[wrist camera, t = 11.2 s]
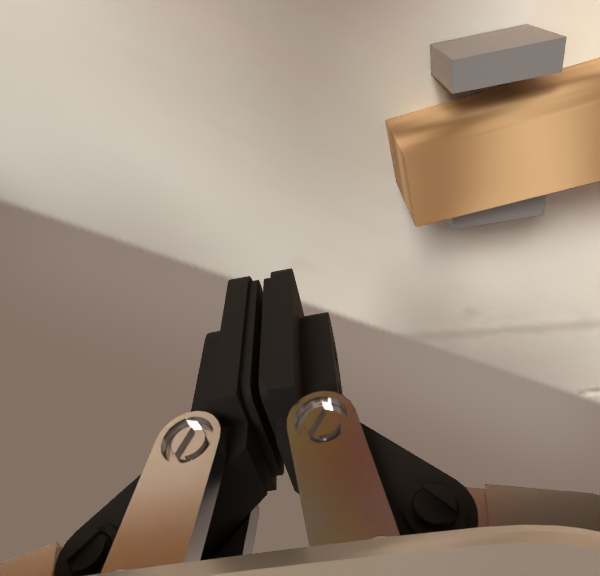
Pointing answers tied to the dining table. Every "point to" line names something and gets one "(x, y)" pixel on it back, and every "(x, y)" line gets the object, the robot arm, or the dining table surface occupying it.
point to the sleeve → (494, 71)
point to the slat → (499, 145)
